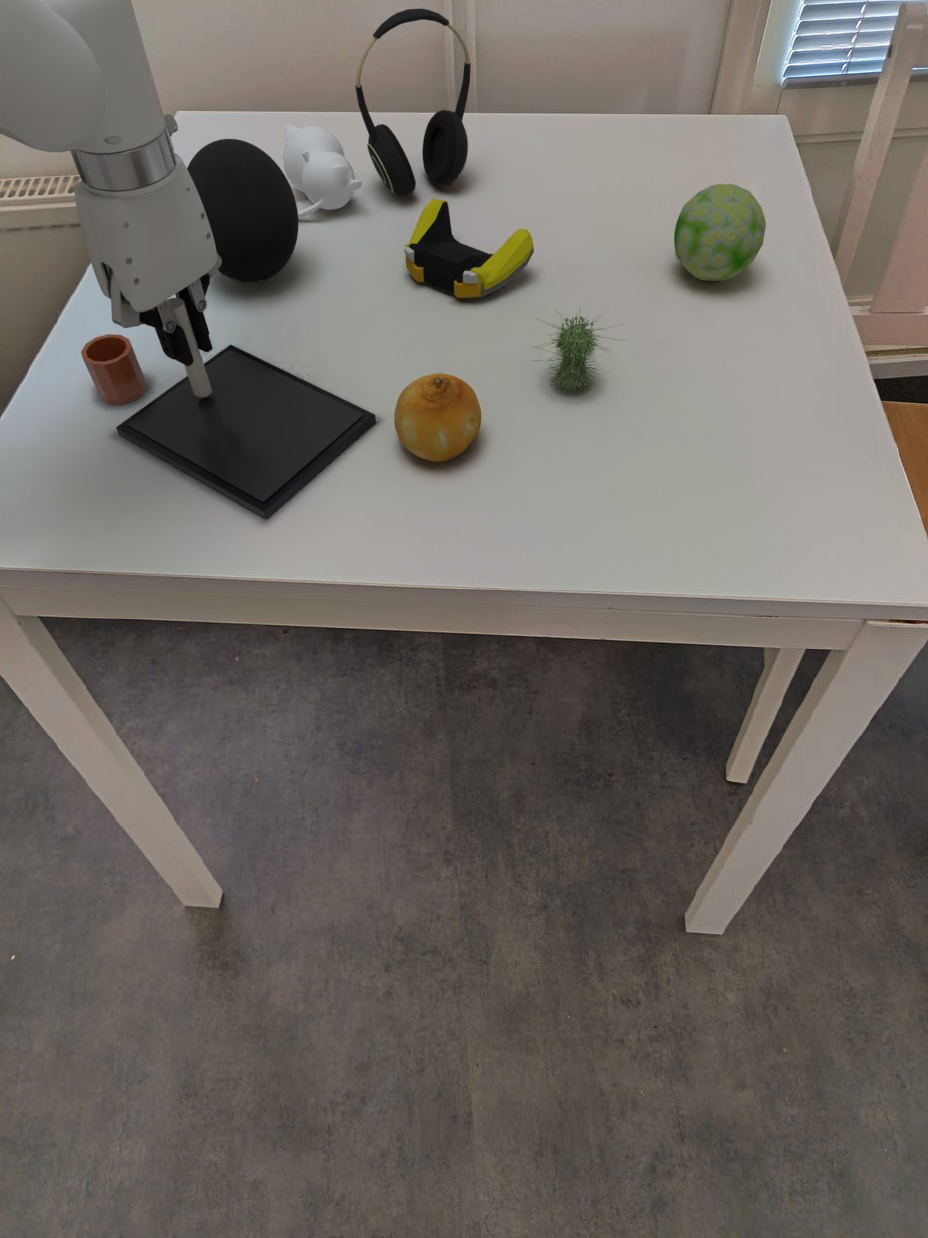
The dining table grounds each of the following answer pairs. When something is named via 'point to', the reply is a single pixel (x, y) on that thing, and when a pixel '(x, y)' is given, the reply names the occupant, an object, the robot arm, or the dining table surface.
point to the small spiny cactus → (574, 352)
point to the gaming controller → (461, 256)
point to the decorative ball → (719, 232)
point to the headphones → (442, 133)
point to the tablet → (248, 430)
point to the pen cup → (114, 369)
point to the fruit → (437, 417)
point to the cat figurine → (318, 168)
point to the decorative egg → (246, 208)
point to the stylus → (196, 369)
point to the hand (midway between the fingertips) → (189, 351)
